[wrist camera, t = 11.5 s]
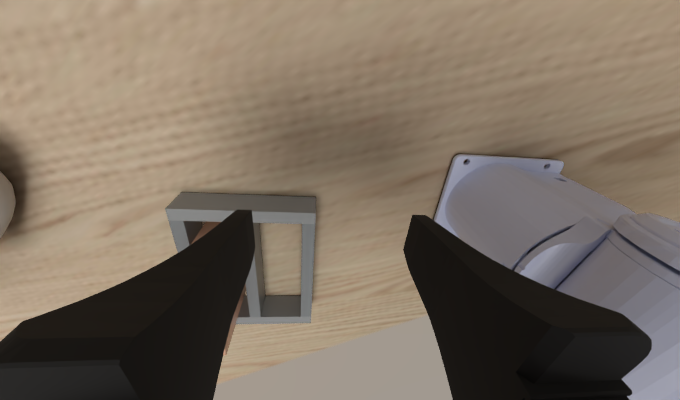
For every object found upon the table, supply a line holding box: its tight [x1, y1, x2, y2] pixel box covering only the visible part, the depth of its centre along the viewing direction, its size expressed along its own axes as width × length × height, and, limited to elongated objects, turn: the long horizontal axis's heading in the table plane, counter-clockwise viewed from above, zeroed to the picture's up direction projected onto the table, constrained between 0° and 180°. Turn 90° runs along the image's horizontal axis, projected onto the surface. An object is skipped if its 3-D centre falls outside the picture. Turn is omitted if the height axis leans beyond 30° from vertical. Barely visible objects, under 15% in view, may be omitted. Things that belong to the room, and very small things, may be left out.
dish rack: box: [165, 192, 316, 324], centre depth 23 cm, size 11×13×2 cm
